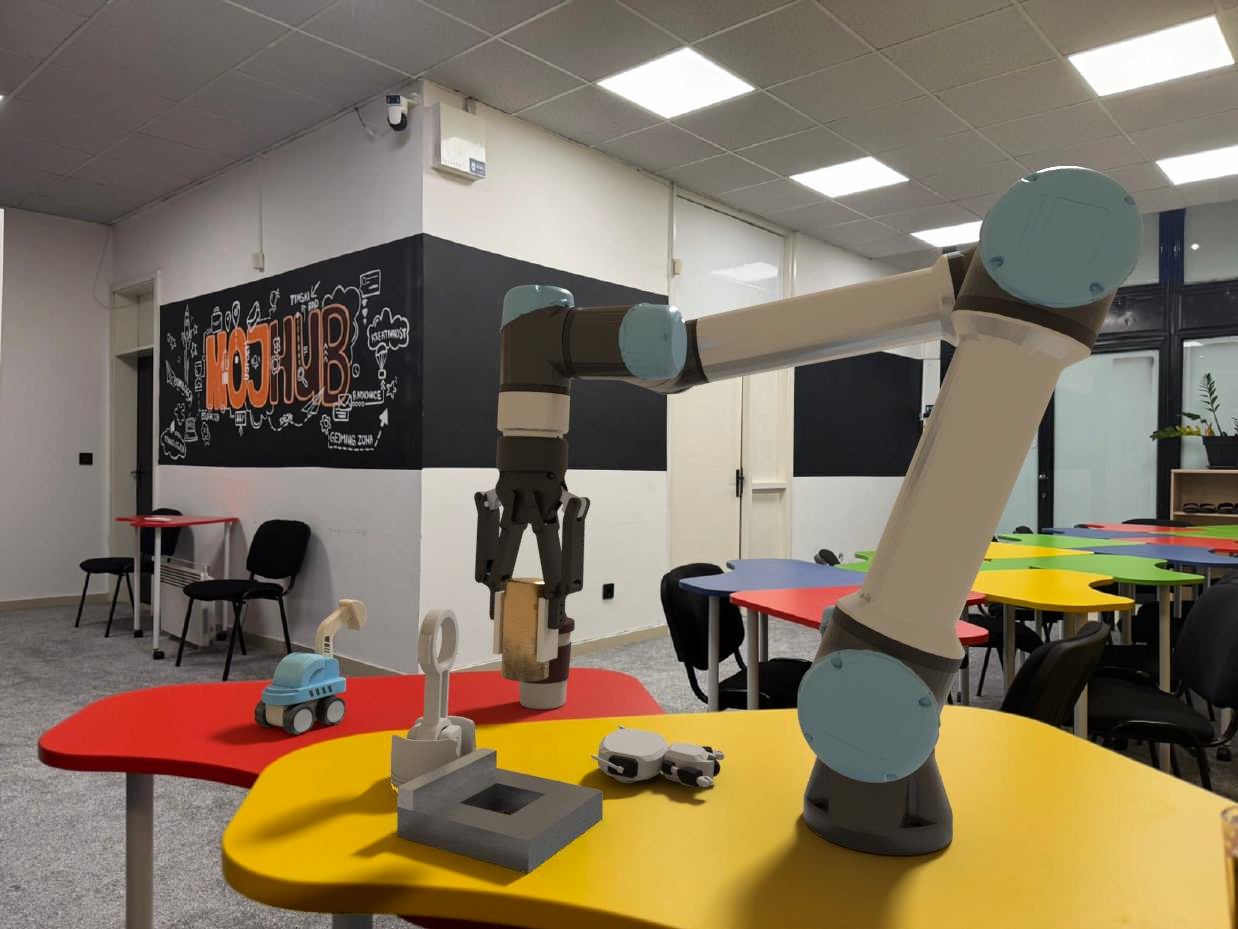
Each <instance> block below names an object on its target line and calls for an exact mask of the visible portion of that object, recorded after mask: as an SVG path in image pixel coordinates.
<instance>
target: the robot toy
mask: <svg viewBox="0 0 1238 929" xmlns="http://www.w3.org/2000/svg"><path fill="white" fill-rule="evenodd" d="M617 727H618V728H619V729H617V730H615V731H613V732H611V733H610V734H607V735H606V736H604V737H603V738H602V739H601V740H600V743H599V746H598V755H596V754H590V757H591V759H593V760H595V761H597V766H598V767H599V768H600V770H601V771H602V772H604V773H605V774H606V775H607V776H610V777H613V778H614V779H615V780H616V781H618V782H619V783H621V782H623V783H622V784H632V783H634V782H635V781H636V782H638V781H644V780H646V781H647V780H650V779H652V778H653V777H655V776H657V775H658V774H659V773H662V774H663V776H664V777H665V778H666V779H667V780H670V781H673V782H678V783H679V784H680V785H682V784H683V785H682V786H686V785H687V787H693V788H699V787H703V788H706V787H709V786H712V785H713V783H714V782H713V780H714V777H715V778H716V777H717V776H718V775H719V774H720V771H721V765H720V762H719V761H721V760H724V759H725V757H726V756H725V754H724V752H723V751H722V750H719V749H718V750H717V749H714V750H713V748H712V747H711V746H704V745H703V746H701V745H700V744H693V743H686V742H678V741H675V742H673V743H671V744H670V745H669V743H668V741H667V740H666V738H665V737H663V735H661V734H659V733H658V732H654V731H648V730H642V729H636V728H631V727H629V728H627V727H625V726H623V725H617ZM631 782H632V783H631Z"/></svg>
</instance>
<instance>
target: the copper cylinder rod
mask: <svg viewBox="0 0 1238 929" xmlns="http://www.w3.org/2000/svg"><path fill="white" fill-rule="evenodd" d="M542 594H546V592H545V586H544V580H543V578H539V577H512V578H510V579H506V580H505V584H504V611H503V638H502V654H501V666H500V667H501V668H500V670H501V671H500V676H501V678H503V679H505V680H508V681H513V682H519V681H523V682H528V681H539V680H543V679H546V678H547V677H548V676H549V660H548V661H545V662H538V661H537V636H538V610H539V598H542Z"/></svg>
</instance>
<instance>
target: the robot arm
mask: <svg viewBox="0 0 1238 929" xmlns="http://www.w3.org/2000/svg"><path fill="white" fill-rule="evenodd" d="M1144 229H1145V228H1144V221H1143V216H1142V212H1141V209H1140V207H1139V206H1138V205H1137V203H1136V200H1135V199H1134V197H1133V196H1132V195H1131V194H1130V192H1129V191H1128V190H1127V188H1126V187H1124V186H1123V184H1121V183H1120V182H1118V180H1116V179H1115V178H1112V177H1111V176H1110V175H1107V174H1106V173H1103V172H1100V171H1098V170H1094V169H1092V168H1087V167H1081V166H1068V165H1067V166H1054V167H1049V168H1045V169H1042V170H1039V171H1035V172H1033V173H1031V174H1029V175H1027V176H1025V177H1022V178H1021V179H1019V180H1018V181H1016V182H1015V183H1012V185H1011V186H1009V187H1007V189H1006V190H1005V191H1004V192H1002V194H1001V195H1000V196H999V197H998V198H997V199H996V200H995V202H994V204H992V206H991V207H990V208H989V209H988V210H987V212H986V214H985V215H984V217H983V219H982V222H981V225H980V228H979V232H978V233H979V234H978V237H979V238H978V243H977V244H975V245H973V246H970V247H968V248H965V249H961V250H958V251H954V252H953V251H952V252H948V253H944V254H941V255H940V256H939V258H938V259H937V260H936V262H935V263H934V264H933V265H931V266H930V267H925V268H921V269H918V270H913V271H908V272H902V273H898V274H894V275H890V276H889V275H888V276H885V277H879V278H875V279H871V280H866V281H862V282H857V283H852V284H848V285H844V286H838V287H834V288H830V289H829V288H828V289H826V290H821V291H816V292H811V293H805V294H801V295H796V296H792V297H787V298H784V299H778V300H774V301H769V302H766V303H765V302H764V303H761V304H755V305H751V306H747V307H741V308H737V309H733V310H728V311H724V312H718V313H714V314H710V315H705V316H701V317H700V316H699V317H698V318H694V319H693V318H692V319H688V320H684V319H683V315H682V312H681V311H680V310H679V309H678V308H677V307H676V306H674V305H673V304H672V305H670V304H651V303H649V302H640V303H638V304H627V305H625V304H623V305H604V306H603V305H601V306H576V305H575V302H574V299H575V298H574V296H573V294H572V293H571V292H570V291H569V290H567V289H565V288H563V287H558V286H553V285H538V284H528V285H526V284H525V285H519V286H515V287H512V288H511V289H510V290H509V289H508V291H507V292H506V294H505V295H504V299H503V305H502V306H503V308H502V316H501V317H502V318H501V326H500V328H499V333H500V338H501V339H500V340H501V341H500V378H499V379H500V382H499V393H498V403H497V404H498V405H497V406H498V407H497V422H496V423H497V426H496V428H497V430H498V431H500V432H502V434H503V435H502V436H499V438H498V439H497V440H496V464H495V467H496V469H497V470H498V473H499V474H498V475H499V476H498V480H497V482H496V484H495V487H494V488H492V489H489V490H487V491H476V492H475V493H474V496H473V499H474V504H475V508H476V513H477V518H476V519H477V521H476V523H477V524H476V538H475V539H476V542H475V559H474V560H475V564H474V580H475V581H476V583H478V584H483V585H484V586H486V587H487V588H488V590H489V593H490V594H489V619H490V620H491V621H493V635H492V636H493V642H492V654H495V655H502V638H503V611H504V584H505V580H506V579H510V578H513V575H514V570H515V566H516V564H517V559H518V554H519V551H520V547H521V544H522V539H523V536H524V535H523V534H524V532H525V531H526V530H527V528H528V526H529V525H530V526H531V531H532V533H533V534H534V535H535V538H536V543H537V544H536V545H537V551H538V556H539V561H540V562H539V563H540V567H541V574H542V579H543V580H544V586H545V592H546V594H542V598H539V610H538V636H537V661H538V662H545V661H548V660H551V659H555V658H557V651H558V629H560V628H563V626H564V623H565V612H566V599H567V597H568V596H569V595H572V594H574V593H578V592H581V591H582V590H583V588H584V573H585V572H584V566H585V564H584V563H585V562H584V561H585V536H586V535H585V532H586V530H585V529H586V525H585V524H586V518H587V516H588V513H589V510H590V507H591V500H590V498H589V497H587V496H581V497H579V496H578V495H575V494H573V493H571V492H569V488H568V486H567V483H566V478H565V477H566V474H567V470H568V463H569V442H567V439H566V438H564V435H566V434H567V433H568V432H569V430H570V429H569V428H570V402H571V384H572V380H578V381H579V380H580V381H581V380H582V381H583V380H584V381H585V380H600V381H601V380H605V381H606V380H609V381H623V382H626V383H629V384H632V385H636V386H639V387H642V388H644V389H648V390H649V391H651V392H652V393H656V394H659V395H680V394H683V393H685V392H688V391H689V390H690V389H692V388H694V387H697V386H701V385H702V386H703V385H705V384H710V383H714V382H719V381H725V380H730V379H736V378H737V379H738V378H741V377H747V376H748V377H749V376H752V375H753V376H754V375H759V374H763V373H769V372H774V371H780V370H785V369H790V368H795V367H801V366H806V365H812V364H813V365H814V364H817V363H824V362H829V361H833V360H839V359H845V358H851V357H856V356H862V355H867V354H871V353H878V352H882V351H883V352H884V351H889V350H894V349H899V348H904V347H909V346H915V345H921V344H925V343H926V344H927V343H932V342H937V341H945V342H947V343H948V344H950V345H952V346H954V347H955V351H954V353H953V356H952V358H951V361H950V363H949V366H948V368H947V371H946V373H945V376H944V378H943V381H942V383H941V387H940V389H939V391H938V393H937V396H936V399H935V401H934V404H933V406H932V408H931V411H930V414H929V416H928V419H927V421H926V424H925V426H924V429H923V432H922V434H921V436H920V439H919V441H918V444H917V447H916V448H915V452H914V453H913V457H912V458H911V459H912V460H911V462H910V463H909V467H908V469H907V472H906V474H905V477H904V479H903V482H902V484H901V487H900V489H899V491H898V494H897V497H896V499H895V502H894V505H893V507H892V509H891V511H890V515H889V517H888V520H887V522H886V524H885V527H884V529H883V532H882V535H881V536H880V537H881V538H880V540H879V542H878V544H877V547H876V549H875V552H874V555H873V556H872V560H871V562H870V564H869V568H868V569H867V572H866V574H865V577H864V580H863V582H862V585H861V586H860V587H861V588H859V589H858V590H856V591H854V592H852V593H849V594H847V595H844V596H842V597H840V598H838V599H837V601H836V603H835V604H834V605H833V604H832V605H829V606H827V607H825V608H824V609H823V610H822V613H821V619H820V620H821V621H820V625H819V627H818V629H819V630H818V631H819V634H820V635H821V637H820V638H821V641H820V644H819V646H818V648H817V650H816V654H815V656H814V658H813V661H812V663H811V666H810V667H809V669H808V670H806V672H805V673H804V675H803V676H802V679H801V680H800V683H799V686H798V690H797V695H796V696H797V702H796V705H797V708H796V709H797V719H798V725H799V727H800V730H801V733H802V735H803V738H804V739H805V742H806V743H807V745H808V747H809V748H810V750H811V751H812V752H813V754H815V755H816V758H815V759H814V760H815V762H814V764H813V767H812V769H811V773H810V774H809V778H808V781H807V784H806V787H805V790H804V793H803V810H802V812H803V813H802V814H803V820H804V822H805V824H806V825H807V827H808V828H809V829H810V830H812V831H813V832H814V833H815V834H816V835H818V836H820V837H821V838H823V839H826V840H827V841H830V842H831V843H835V844H837V845H840V846H842V847H846V848H848V849H853V850H856V851H860V852H865V853H866V852H867V853H870V854H871V853H873V854H879V855H887V856H889V855H890V856H913V855H914V856H915V855H922V854H928V853H932V852H936V851H938V850H941V849H943V848H945V847H946V846H947V845H950V844H949V843H951V841H952V840H953V837H954V825H953V824H954V815H953V811H952V806H951V803H950V800H949V797H948V793H947V791H946V788H945V785H944V780H943V779H942V775H941V772H940V769H939V766H938V763H937V760H936V746H937V743H938V741H939V738H940V728H941V725H942V722H941V714H942V712H943V709H944V706H945V704H946V702H947V699H948V697H949V695H950V692H951V689H952V688H953V686H954V682H955V679H956V677H957V675H958V673H959V670H960V667H961V665H962V662H963V660H964V658H965V655H966V651H965V649H964V647H963V645H962V642H961V640H960V638H959V637H958V634H957V628H956V627H957V625H958V622H959V620H960V618H961V616H962V612H963V611H964V609H965V605H966V603H967V601H968V598H969V596H970V593H971V592H972V589H973V586H974V584H975V582H976V580H977V577H978V574H979V572H980V570H981V567H982V565H983V562H984V560H985V557H986V555H987V553H988V550H989V549H990V546H991V543H992V541H993V539H994V535H995V534H996V531H997V528H998V526H999V523H1000V522H1001V519H1002V516H1003V513H1004V512H1005V509H1006V506H1007V503H1008V502H1009V499H1010V497H1011V495H1012V492H1013V490H1014V487H1015V485H1016V482H1017V480H1018V479H1019V478H1018V477H1019V475H1020V473H1021V471H1022V468H1023V466H1024V463H1025V460H1026V458H1027V457H1028V456H1027V455H1028V454H1029V451H1030V449H1031V447H1032V444H1033V441H1034V439H1035V436H1036V434H1037V431H1038V429H1039V427H1040V425H1041V422H1042V420H1043V418H1044V415H1045V413H1046V409H1047V407H1048V405H1049V402H1050V400H1051V398H1052V396H1053V392H1054V391H1055V389H1056V386H1057V383H1058V380H1059V379H1060V376H1061V373H1062V372H1064V370H1066V369H1067V368H1068V367H1071V366H1073V365H1075V364H1078V363H1080V362H1082V361H1084V360H1087V359H1088V358H1089V357H1090V355H1091V354H1092V353H1091V352H1092V351H1093V348H1094V346H1095V344H1096V341H1097V339H1098V337H1099V335H1100V332H1101V330H1102V328H1103V325H1104V323H1105V320H1106V318H1107V315H1108V314H1109V310H1110V309H1111V305H1112V304H1113V301H1114V299H1115V297H1116V294H1117V292H1118V289H1119V288H1120V287H1121V286H1122V285H1123V284H1124V283H1125V282H1126V281H1127V280H1128V278H1129V277H1131V275H1132V274H1133V272H1134V271H1135V269H1136V266H1137V265H1138V263H1139V259H1140V256H1141V252H1142V248H1143V243H1144V235H1145V230H1144ZM561 506H562V507H561ZM500 507H502V508H503V509H502V512H501V511H500ZM560 509H561V512H562V513H563V517H562V523H561V524H562V527H561V526H560V525H561V524H560V519H559V514H558V512H559V510H560ZM560 529H561V541H560V534H559V531H560Z"/></svg>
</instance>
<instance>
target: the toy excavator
mask: <svg viewBox="0 0 1238 929" xmlns="http://www.w3.org/2000/svg"><path fill="white" fill-rule="evenodd" d="M337 604H338V606H339V608H338V609H336V610H335V611H334V612H332V613H331V614H330V615H329V616H327V617H326V618H325V619H324V620H322V621H321V623H320V624H319V625H318V627H317V630H316V633H315V644H314V652H313V653H311V652H310V653H309V652H301V651H300V652H299V651H298V652H297V651H296V652H292V653H289V654H288V655H286V656H284V657H283V658H282V659H281V660H280V661H279V663H278V665H277V667H276V668H275V670H274V674H273V679H272V683H270V684H267V685H266V687H265V688H264V689H263V690H261V700H260V701H258V703H257V704H256V706H255V708H254V713H253V714H254V717H253V718H254V719H253V720H254V721H255V722H256V724H257V725H258V726H261V727H264V728H270V729H272V728H274V727H276V726H277V727H282V728H283V730H284V731H285V732H287V733H289V734H293V735H297V736H300V734H301V733H305V732H308V731H310V729H311V728H312V727H313V725H314V723H315V722H316V721H318V722H319V723H322V724H324V725H328V726H331V725H333V726H337V725H339V723H341V722H342V721H343V719H344V718H345V715H346V712H347V709H346V706H347V705H346V704H347V703H346V701H345V699H344V698H342V697H339V696H336V695H337V694H341V693H345V692H346V691H347V678H345V677H342V676H340V663H339V660H338V659H336V658H335V657H334V655H333V654H334V653H333V639H334V636H335V635H336V634H337V633H338V632H339V631H340V629H342V627H343V626H344V625H345V624H346V627H347V629H348V630H353V631H362V630H363V628H365V626H366V624H367V622H368V611H367V607H366V605H365V604H364V603H363V602H362V601H359V600H357V599H349V598H347V599H345V598H344V599H340V600H339V601H337Z"/></svg>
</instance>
